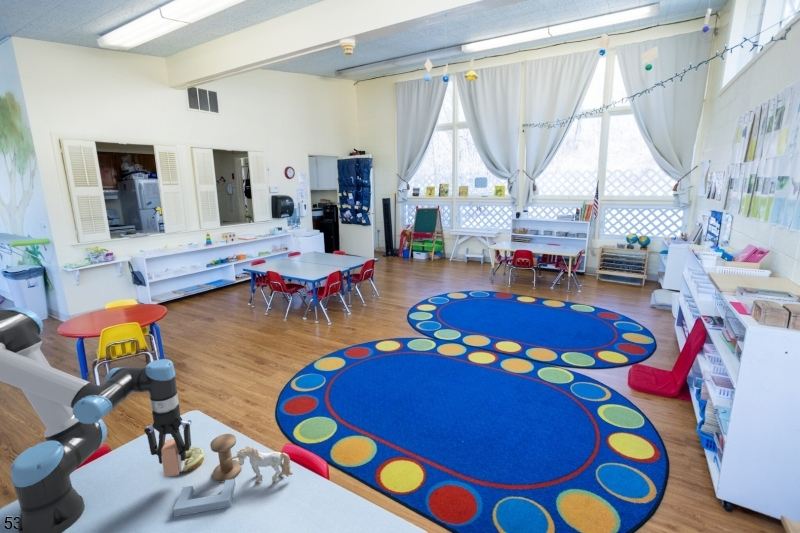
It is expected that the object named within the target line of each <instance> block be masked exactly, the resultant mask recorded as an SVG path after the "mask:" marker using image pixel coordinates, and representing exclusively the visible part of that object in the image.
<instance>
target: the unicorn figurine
mask: <svg viewBox="0 0 800 533" xmlns="http://www.w3.org/2000/svg"><path fill="white" fill-rule="evenodd" d="M236 453H237V454H236V455H235V456H232V458H229V459H227V460H230V459H232V460H235V459H237V458H238V461H239V465H241V466H243V465H244V464H245V459H247V457H248V458H249V464H250V465H251V468H252V470H253V472H254V473H255V474H256V476H257V478H256V480H255V482H254V483H255V484H259V483H260V481H261V482H263V475H262V474H261V473H260V472H261V471H260V469H259V468H268V467H269V466H270V467H271V468H273V470H274V471H275V474H273V476H271V481H272V484H275V483H276V482H277V480H278V477H279V478H282V477H283V476H284V475H285V476H286V477H289V476H292V475H294V472H293V471H292V470H291V469H292V467H291V458H290V456H289V454H287V453H285V452H281V451H273V452H272V451H271V452H261V451H260V450H258V448H255V446H248V445H247V446H244V447H242V448H241V449H239V450H236ZM279 467H280V468H281V470H280V468H279Z"/></svg>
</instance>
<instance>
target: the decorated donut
mask: <svg viewBox="0 0 800 533" xmlns="http://www.w3.org/2000/svg"><path fill="white" fill-rule="evenodd" d="M204 459H205V453H204V450H203V449H202V448H200V447H198V446H191V447H190V449H189V451H186V458H185V461H184V467H183V470H182V471H180V472H181V473H183V472H190V471H193V470H194V469H196V468H198V467H200V466H201V464H202V463H203V461H204ZM180 472H179V473H180Z"/></svg>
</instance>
